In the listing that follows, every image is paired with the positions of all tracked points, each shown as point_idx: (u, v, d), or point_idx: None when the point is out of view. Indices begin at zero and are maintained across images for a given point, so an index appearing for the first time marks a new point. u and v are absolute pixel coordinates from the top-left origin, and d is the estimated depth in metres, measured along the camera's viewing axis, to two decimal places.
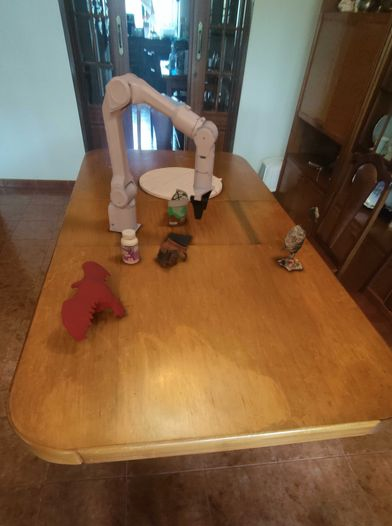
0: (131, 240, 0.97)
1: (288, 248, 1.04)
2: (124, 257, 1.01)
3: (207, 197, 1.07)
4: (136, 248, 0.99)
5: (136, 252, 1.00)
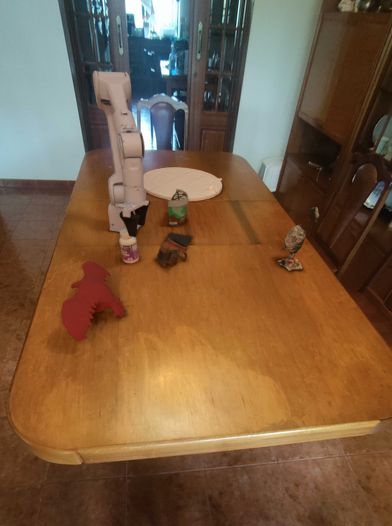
0: (130, 239, 0.97)
1: (288, 248, 1.04)
2: (124, 257, 1.01)
3: (144, 212, 0.97)
4: (135, 247, 0.99)
5: (135, 251, 0.99)
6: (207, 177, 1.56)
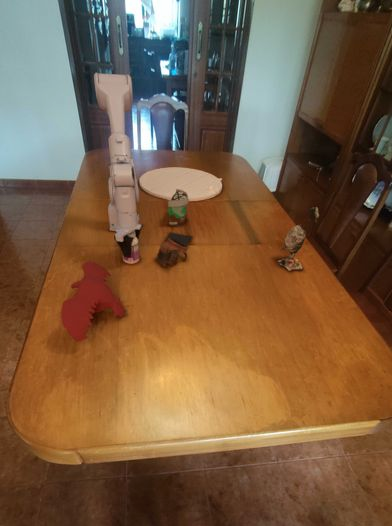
0: None
1: (288, 248, 1.04)
2: (124, 257, 1.01)
3: (136, 235, 1.00)
4: (136, 248, 0.99)
5: (136, 252, 1.00)
6: (207, 177, 1.56)
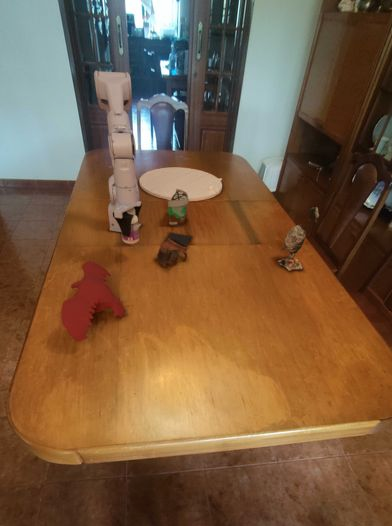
0: None
1: (288, 248, 1.04)
2: (123, 236, 0.96)
3: (136, 214, 0.96)
4: (136, 227, 0.95)
5: (135, 231, 0.95)
6: (207, 177, 1.57)
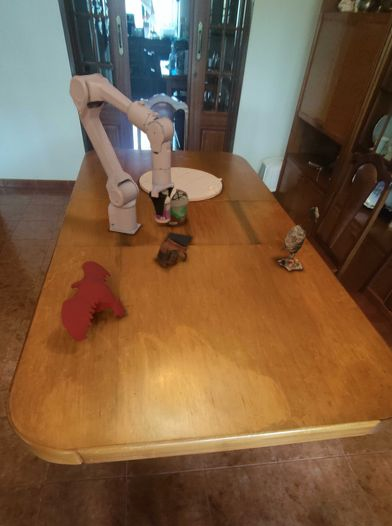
0: None
1: (288, 248, 1.04)
2: (156, 216, 1.05)
3: (168, 195, 1.05)
4: (168, 207, 1.04)
5: (168, 211, 1.04)
6: (207, 177, 1.57)
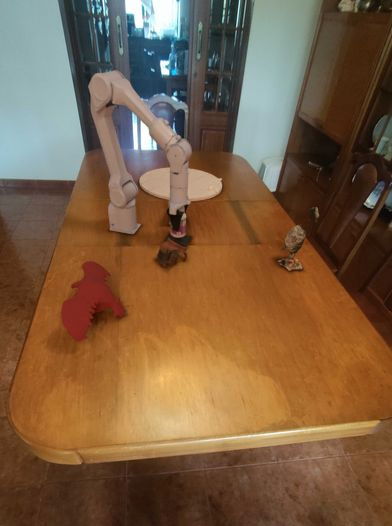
0: None
1: (288, 248, 1.04)
2: (173, 231, 1.10)
3: None
4: (184, 222, 1.08)
5: (184, 226, 1.09)
6: (207, 177, 1.57)
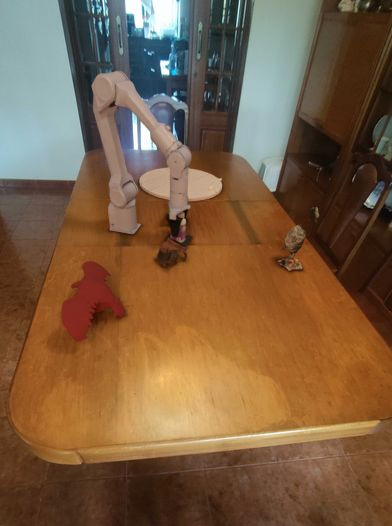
0: None
1: (288, 248, 1.04)
2: (172, 236, 1.11)
3: (184, 215, 1.11)
4: (184, 228, 1.10)
5: (183, 232, 1.10)
6: (207, 177, 1.57)
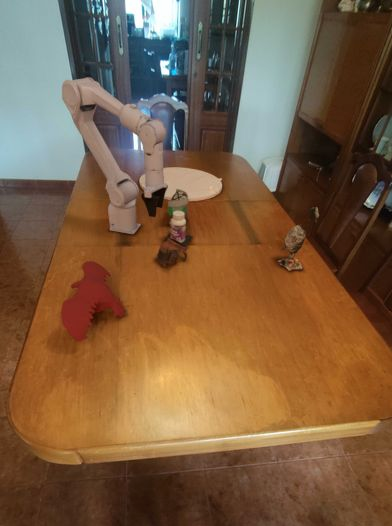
0: (181, 220, 1.07)
1: (288, 248, 1.04)
2: (172, 236, 1.11)
3: (162, 195, 1.07)
4: (184, 228, 1.10)
5: (183, 232, 1.10)
6: (207, 177, 1.57)
